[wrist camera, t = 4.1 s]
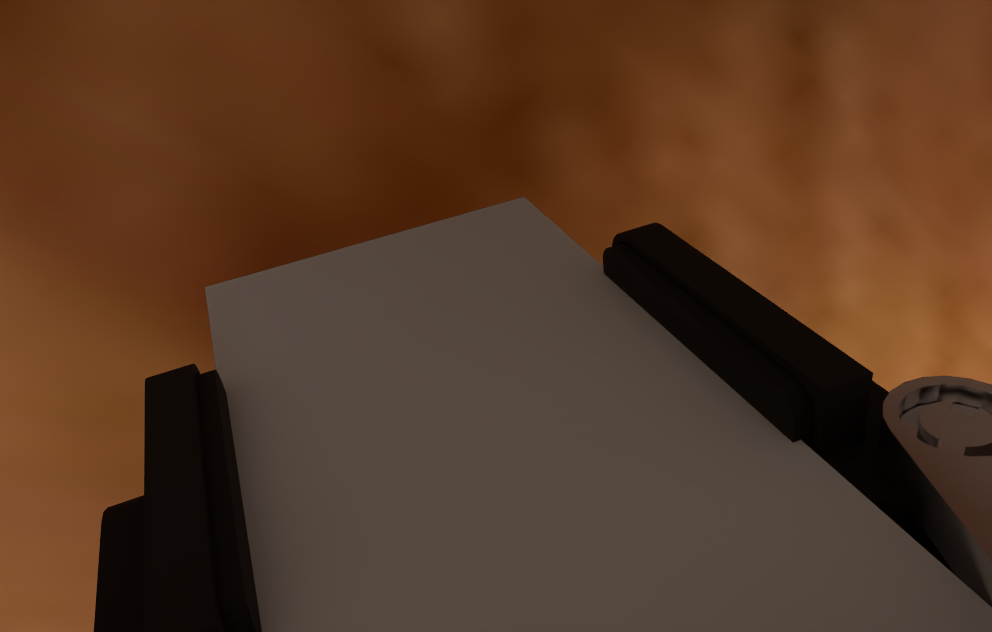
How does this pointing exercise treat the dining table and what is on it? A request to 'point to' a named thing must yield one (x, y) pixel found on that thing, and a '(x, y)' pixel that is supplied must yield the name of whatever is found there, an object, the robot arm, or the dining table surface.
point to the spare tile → (530, 457)
